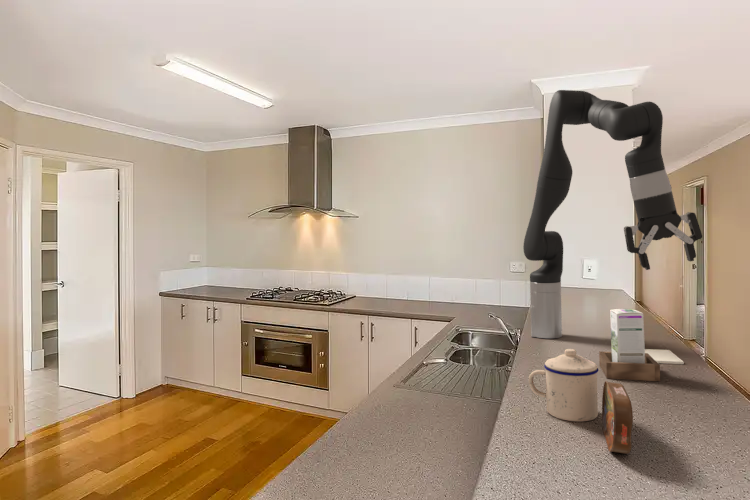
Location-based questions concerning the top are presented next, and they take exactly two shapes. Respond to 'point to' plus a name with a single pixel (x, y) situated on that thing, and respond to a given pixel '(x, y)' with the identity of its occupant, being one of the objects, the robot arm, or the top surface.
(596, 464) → the top surface
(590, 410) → the teacup with lid
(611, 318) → the syrup box
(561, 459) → the top surface
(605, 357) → the walnut collar
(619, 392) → the tin
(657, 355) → the cream board
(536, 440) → the top surface
